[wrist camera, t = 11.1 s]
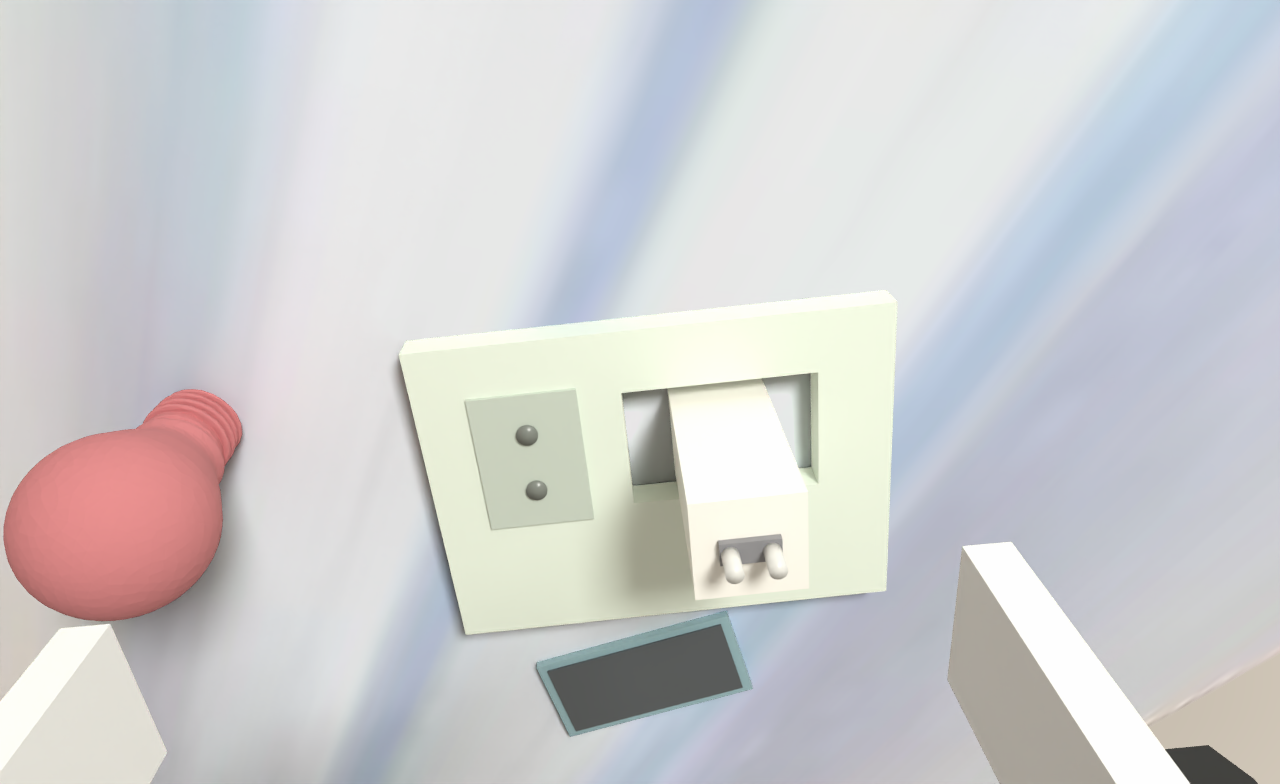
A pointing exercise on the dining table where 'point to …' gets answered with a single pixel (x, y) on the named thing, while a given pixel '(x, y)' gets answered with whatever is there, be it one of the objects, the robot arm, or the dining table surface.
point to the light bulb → (125, 512)
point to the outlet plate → (600, 465)
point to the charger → (738, 491)
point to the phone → (646, 674)
